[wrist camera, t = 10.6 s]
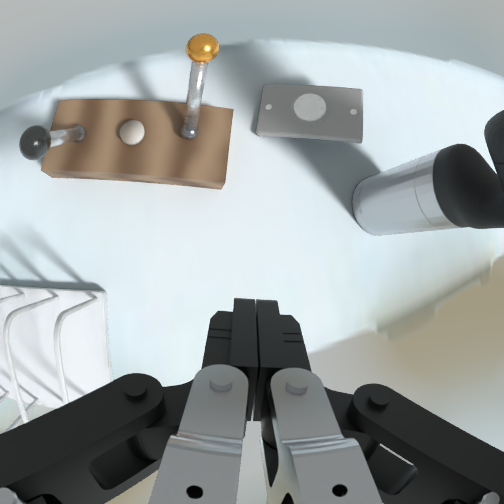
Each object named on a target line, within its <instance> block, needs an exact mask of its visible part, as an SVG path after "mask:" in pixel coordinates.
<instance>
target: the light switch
mask: <svg viewBox="0 0 504 504" xmlns="http://www.w3.org/2000/svg"><path fill="white" fill-rule="evenodd" d="M256 134H257V135H258V136H268V137H290V138H306V139H320V140H331V141H342V142H351V143H362V136H363V90H362V89H354V88H343V87H330V86H312V85H264V87H263V93H262V99H261V105H260V110H259V116H258V122H257V128H256Z"/></svg>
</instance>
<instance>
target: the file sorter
mask: <svg viewBox="0 0 504 504" xmlns="http://www.w3.org/2000/svg"><path fill="white" fill-rule="evenodd" d="M112 381H113V376H112V367H111V358H110V347H109V334H108V318H107V293H106V291H102V290H72V289H54V288H38V287H24V286H11V285H0V396H1V397H0V403H1V402H2V401H3V400H4V399H5V398H6V397H7V398H11V399H15V400H17V404H18V407H19V410H20V413H21V415H20V416H19V417H18V418H17V419H16V420H15V421H14V422H13V424H12V425H11V426H10V427H9V428H8V429H7V430H6V431H5V432H7V431H9V430H11V429H13V428H16V427H17V426H18V424H19V423H20V422H21V421H22V420H23V423H24V424H25V423H27V422H29V420H28V416H27V414H28V413H29V412H30V411H31V409H32V408H33V407H34V406H35V405H36V404H37V405H42V406H47V407H52V408H59V407H61V406H63V405H65V404H68V403H70V402H72V401H74V400H76V399H78V398H80V397H82V396H84V395H86V394H88V393H90V392H92V391H94V390H96V389H98V388H100V387H102V386H104V385H106V384H108V383H110V382H112ZM23 402H27V403H31V404H30V405H29V406H28V407H27V408H26V409H25V407H24V403H23Z"/></svg>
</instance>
